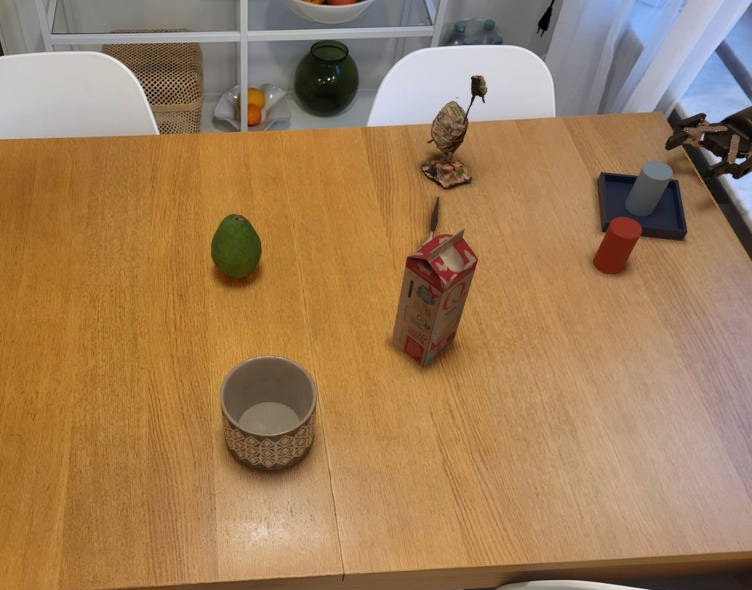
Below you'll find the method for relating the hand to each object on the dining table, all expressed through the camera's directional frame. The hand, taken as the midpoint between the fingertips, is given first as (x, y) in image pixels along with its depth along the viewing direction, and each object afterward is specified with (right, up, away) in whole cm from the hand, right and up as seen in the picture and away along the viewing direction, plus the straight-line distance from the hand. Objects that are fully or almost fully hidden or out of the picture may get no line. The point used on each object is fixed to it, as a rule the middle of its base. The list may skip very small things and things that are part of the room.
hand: (687, 159), depth 126 cm
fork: (-42, -11, +3) cm, 44 cm away
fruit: (-76, -19, -2) cm, 78 cm away
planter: (-70, -45, -20) cm, 86 cm away
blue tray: (-6, -7, +5) cm, 11 cm away
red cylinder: (-14, -18, -2) cm, 23 cm away
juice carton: (-47, -32, -11) cm, 58 cm away
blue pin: (-6, -7, +4) cm, 10 cm away
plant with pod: (-38, +1, +12) cm, 40 cm away
